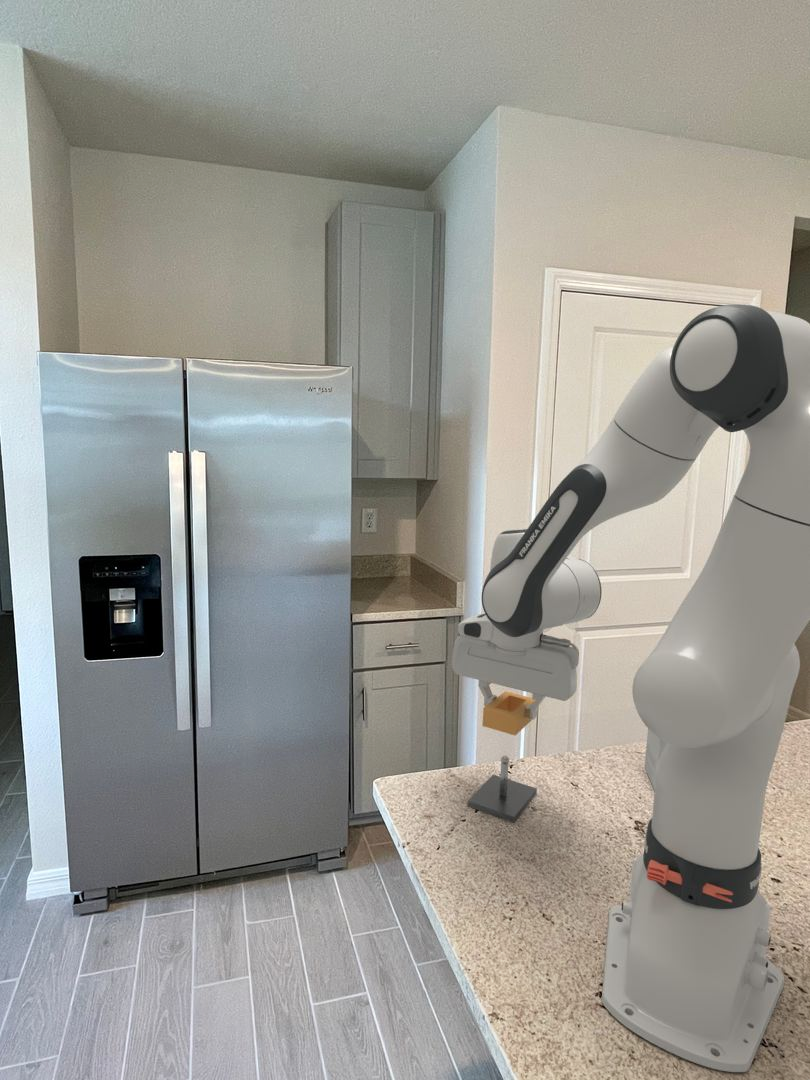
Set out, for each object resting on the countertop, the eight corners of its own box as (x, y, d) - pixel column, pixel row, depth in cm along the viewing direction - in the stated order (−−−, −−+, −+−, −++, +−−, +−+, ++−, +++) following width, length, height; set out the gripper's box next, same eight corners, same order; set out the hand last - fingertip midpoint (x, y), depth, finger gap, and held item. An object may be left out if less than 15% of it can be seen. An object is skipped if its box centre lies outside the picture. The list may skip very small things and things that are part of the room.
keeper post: (513, 822, 99) (516, 776, 98) (467, 806, 103) (469, 761, 102) (536, 793, 108) (539, 751, 107) (492, 779, 112) (495, 738, 111)
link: (515, 735, 99) (516, 717, 98) (482, 725, 102) (483, 708, 101) (535, 716, 106) (536, 699, 105) (504, 707, 109) (505, 691, 108)
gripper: (586, 636, 99) (579, 721, 101) (466, 614, 109) (463, 691, 111) (573, 647, 93) (566, 736, 95) (449, 622, 104) (445, 703, 106)
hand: (509, 711), depth 103 cm, fingers closed on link, 6 cm apart
